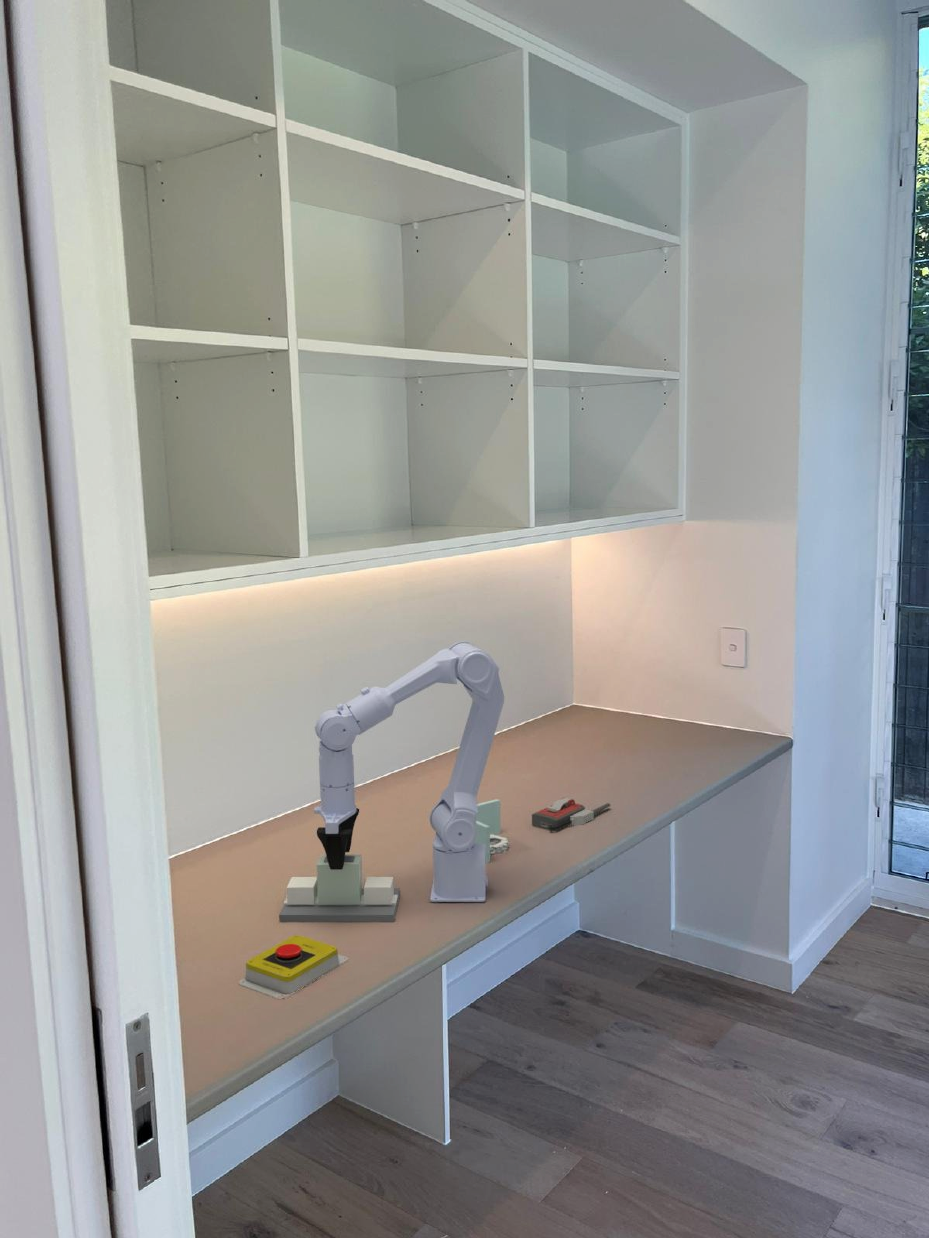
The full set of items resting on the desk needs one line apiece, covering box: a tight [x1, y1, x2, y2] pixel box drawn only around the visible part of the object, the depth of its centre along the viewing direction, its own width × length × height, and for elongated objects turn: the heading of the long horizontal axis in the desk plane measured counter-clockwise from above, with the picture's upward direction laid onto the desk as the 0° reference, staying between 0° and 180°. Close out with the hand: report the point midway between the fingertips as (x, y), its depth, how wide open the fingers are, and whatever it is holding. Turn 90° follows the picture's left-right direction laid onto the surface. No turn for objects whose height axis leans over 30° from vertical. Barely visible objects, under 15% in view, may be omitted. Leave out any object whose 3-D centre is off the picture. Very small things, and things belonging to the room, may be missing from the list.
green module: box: [316, 854, 364, 905], centre depth 179 cm, size 7×4×7 cm, turn 90°
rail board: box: [278, 876, 401, 923], centre depth 180 cm, size 19×11×5 cm, turn 88°
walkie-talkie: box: [531, 797, 611, 832], centre depth 223 cm, size 9×4×20 cm
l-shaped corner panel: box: [474, 798, 510, 864], centre depth 207 cm, size 12×12×8 cm
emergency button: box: [238, 934, 349, 999], centre depth 158 cm, size 9×4×15 cm
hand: (340, 860), depth 179 cm, fingers open, 7 cm apart
